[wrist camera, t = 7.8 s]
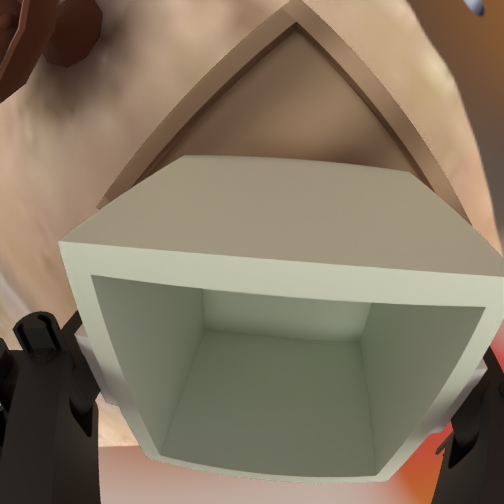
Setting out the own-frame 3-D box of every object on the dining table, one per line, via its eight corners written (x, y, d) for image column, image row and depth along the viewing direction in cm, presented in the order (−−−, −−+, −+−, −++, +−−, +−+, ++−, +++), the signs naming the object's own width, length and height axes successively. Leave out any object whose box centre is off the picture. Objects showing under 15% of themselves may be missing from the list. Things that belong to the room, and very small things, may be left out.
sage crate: (197, 328, 15) (146, 457, 9) (184, 155, 11) (57, 241, 5) (367, 343, 14) (387, 480, 8) (408, 171, 10) (521, 277, 4)
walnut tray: (119, 191, 20) (96, 207, 18) (296, 11, 14) (296, -4, 11) (278, 338, 24) (275, 366, 22) (455, 215, 18) (476, 234, 15)
